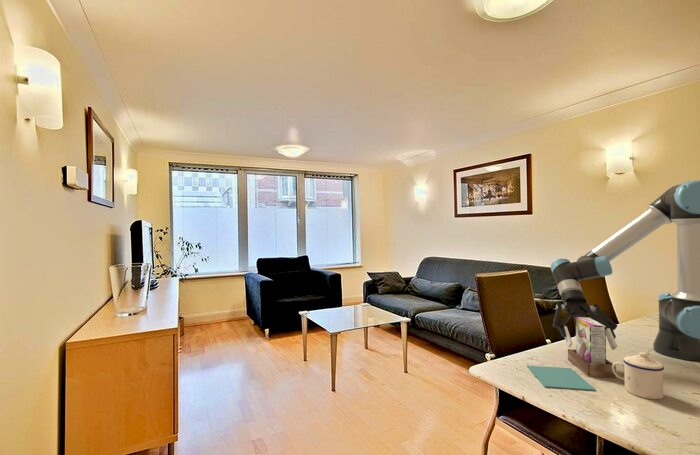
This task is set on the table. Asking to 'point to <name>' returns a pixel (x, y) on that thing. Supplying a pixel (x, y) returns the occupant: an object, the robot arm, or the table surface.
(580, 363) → the walnut sleeve
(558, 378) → the rubber mat
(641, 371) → the teacup with lid
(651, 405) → the table surface
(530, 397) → the table surface
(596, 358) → the candy bar box
